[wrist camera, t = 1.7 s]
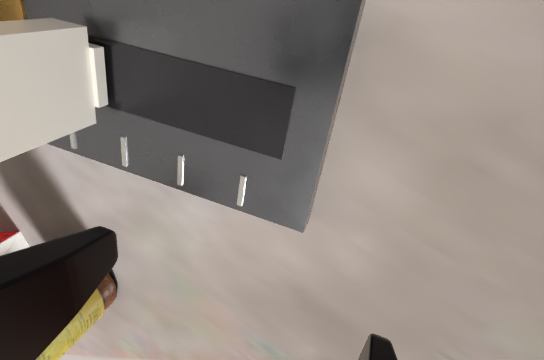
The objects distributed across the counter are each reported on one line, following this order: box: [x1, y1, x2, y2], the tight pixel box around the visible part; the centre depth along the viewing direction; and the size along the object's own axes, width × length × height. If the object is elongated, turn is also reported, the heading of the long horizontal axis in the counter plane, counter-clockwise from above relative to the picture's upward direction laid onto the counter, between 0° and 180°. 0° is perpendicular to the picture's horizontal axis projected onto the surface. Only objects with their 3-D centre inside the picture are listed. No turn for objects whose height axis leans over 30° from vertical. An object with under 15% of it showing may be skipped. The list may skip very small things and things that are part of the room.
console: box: [0, 0, 365, 233], centre depth 19 cm, size 24×12×4 cm, turn 81°
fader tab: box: [0, 18, 108, 162], centre depth 16 cm, size 3×5×9 cm, turn 171°
